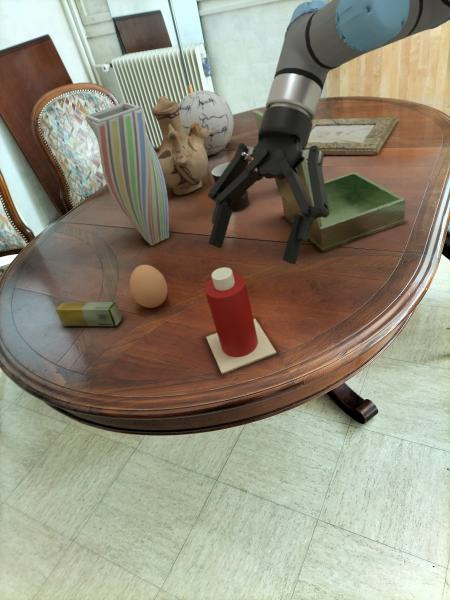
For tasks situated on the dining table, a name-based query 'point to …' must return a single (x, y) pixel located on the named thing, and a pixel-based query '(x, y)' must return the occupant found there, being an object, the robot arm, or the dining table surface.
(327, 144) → the picture frame
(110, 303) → the medication box
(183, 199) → the dining table surface
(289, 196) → the lid
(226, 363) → the mat
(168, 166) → the ceramic vessel
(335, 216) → the green square tray
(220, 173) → the coffee mug
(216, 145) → the decorative sphere
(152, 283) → the egg
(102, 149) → the vase
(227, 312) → the ketchup
